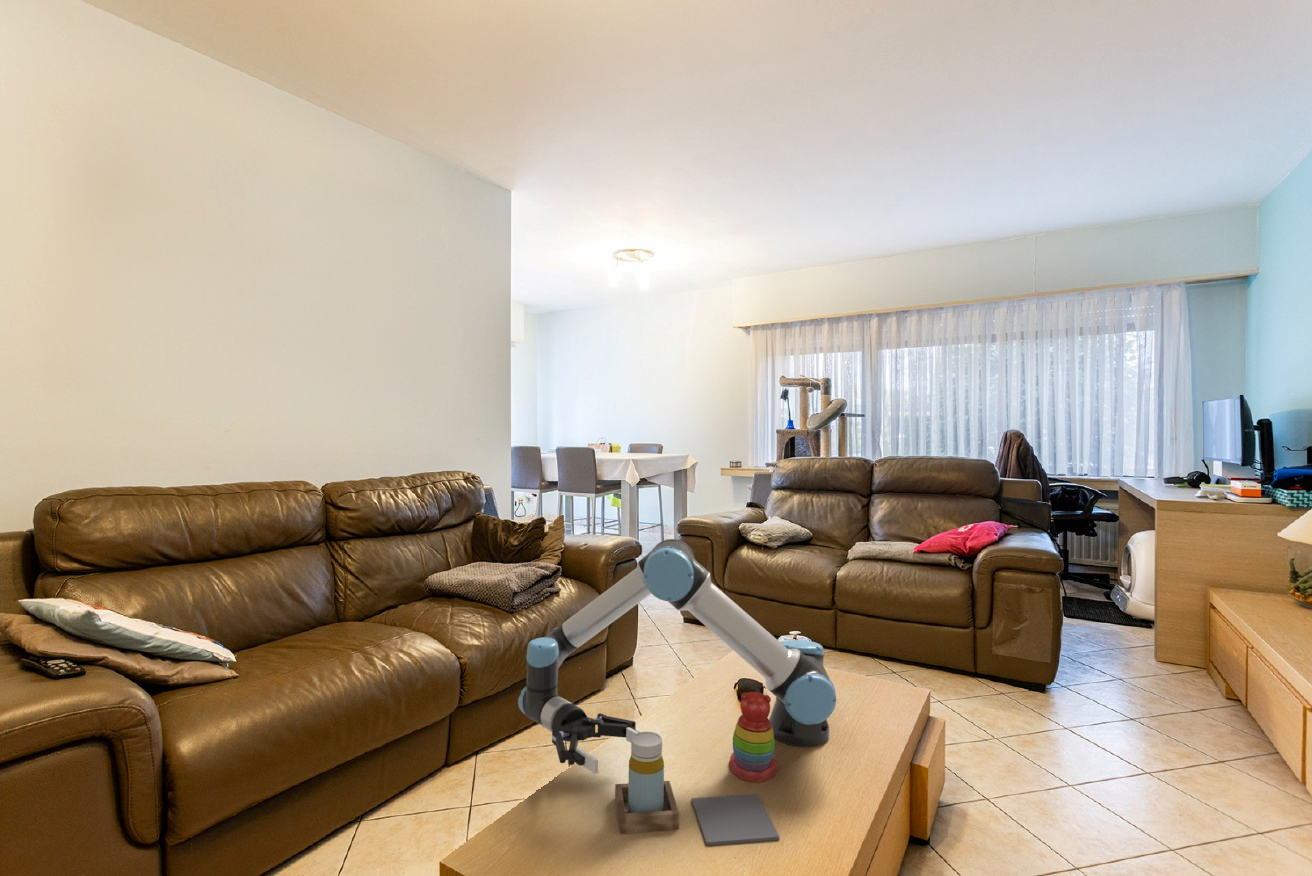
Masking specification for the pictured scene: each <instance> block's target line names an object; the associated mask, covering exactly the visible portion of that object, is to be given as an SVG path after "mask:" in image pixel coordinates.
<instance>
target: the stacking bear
mask: <svg viewBox="0 0 1312 876" xmlns="http://www.w3.org/2000/svg"><path fill="white" fill-rule="evenodd" d="M740 696H741V697H740V699H741V700H740V711H741V715H740V716H739V717H738V720H737V722H736V724H735V727H734V731H733V735H732V751H733V752H732V753H731V754H730V757H729V766H730V768H731V770H732V772H733V774H735V775H736V776H737V777H738V778H739V779H742V780H744V781H748V782H751V783H752V782H755V783H759V782H760V781H761V782H764V781H767V780H769V779H772V777H774V775H775V774H776V773H777V771H778V761H777V759H776V758H775V757H774V753H775V747H776V746H775V745H776V743H775V740H776V739H775V738H774V734H773V728H772V725H771V722H770V721H769V718H768V717H770V714H771V704H770V703H771V700H772V698H771V697H770V695H768V694H764V693H762V692H758V691H750V692H743V693H742V694H741V695H740Z"/></svg>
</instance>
